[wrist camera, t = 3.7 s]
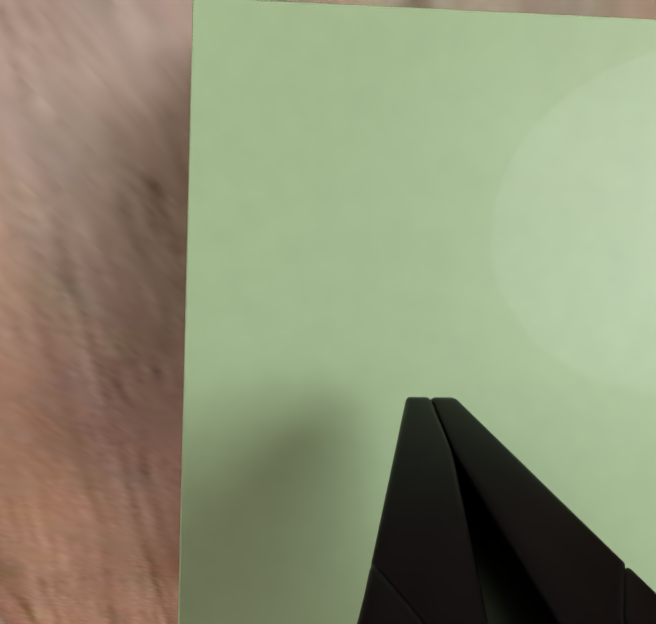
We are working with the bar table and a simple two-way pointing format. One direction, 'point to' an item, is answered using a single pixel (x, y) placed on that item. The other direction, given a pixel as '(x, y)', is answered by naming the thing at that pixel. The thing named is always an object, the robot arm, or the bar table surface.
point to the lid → (407, 280)
